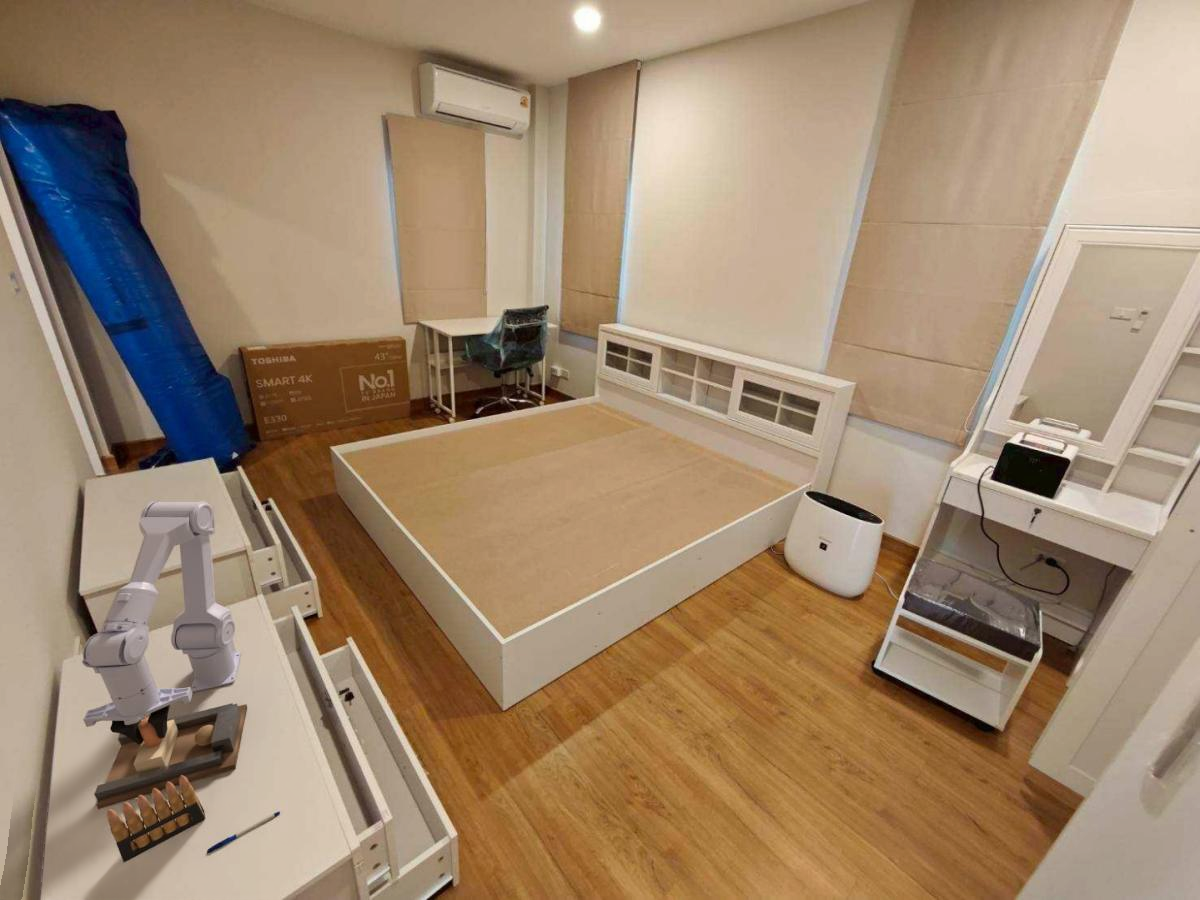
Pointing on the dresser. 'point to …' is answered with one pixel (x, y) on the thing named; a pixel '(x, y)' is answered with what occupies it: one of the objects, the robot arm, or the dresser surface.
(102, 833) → the dresser surface
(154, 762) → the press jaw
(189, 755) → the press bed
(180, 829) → the ammunition clip
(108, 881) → the dresser surface
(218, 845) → the ballpoint pen
